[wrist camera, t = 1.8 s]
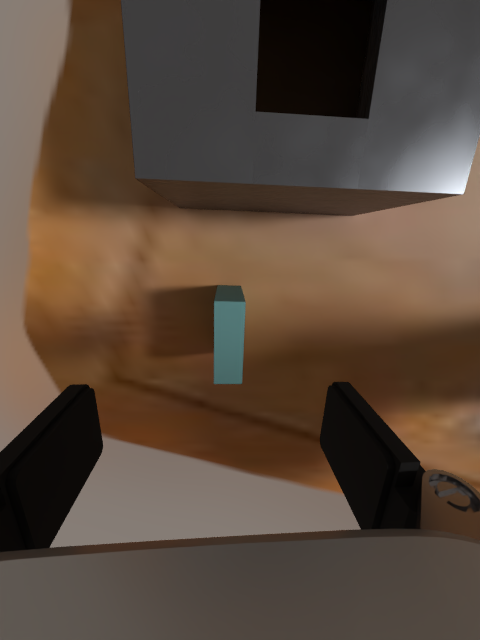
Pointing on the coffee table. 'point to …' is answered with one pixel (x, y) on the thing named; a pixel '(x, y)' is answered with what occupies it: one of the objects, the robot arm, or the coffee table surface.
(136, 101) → the box
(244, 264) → the coffee table surface
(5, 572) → the robot arm
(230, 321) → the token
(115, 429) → the coffee table surface
